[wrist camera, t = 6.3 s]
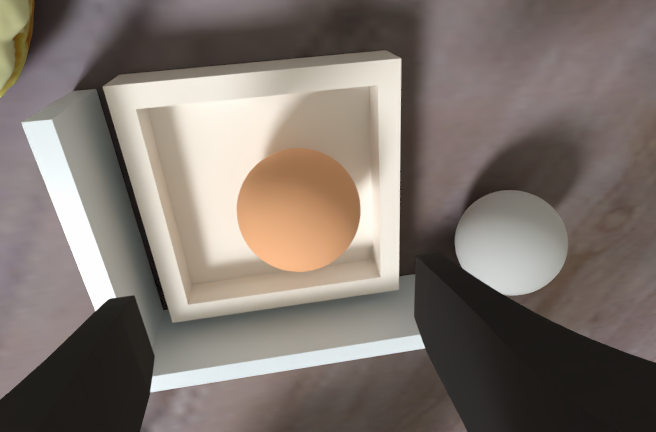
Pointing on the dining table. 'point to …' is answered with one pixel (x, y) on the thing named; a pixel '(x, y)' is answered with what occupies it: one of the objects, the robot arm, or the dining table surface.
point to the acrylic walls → (136, 279)
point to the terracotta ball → (298, 210)
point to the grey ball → (511, 241)
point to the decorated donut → (14, 39)
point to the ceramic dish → (242, 156)
